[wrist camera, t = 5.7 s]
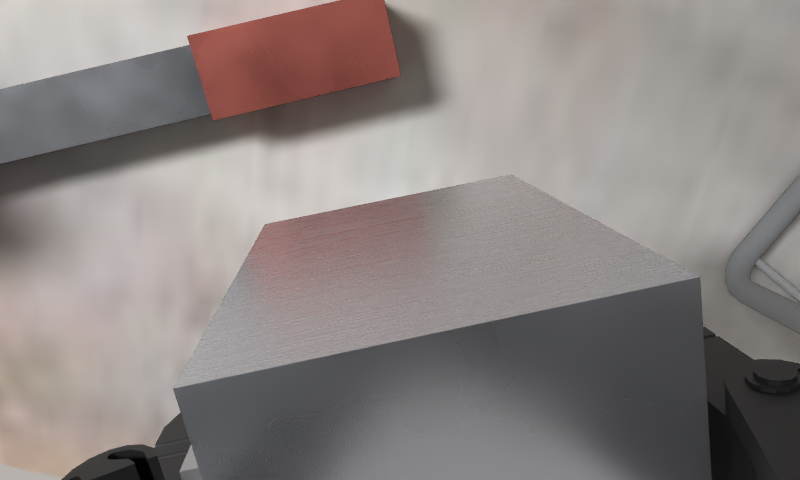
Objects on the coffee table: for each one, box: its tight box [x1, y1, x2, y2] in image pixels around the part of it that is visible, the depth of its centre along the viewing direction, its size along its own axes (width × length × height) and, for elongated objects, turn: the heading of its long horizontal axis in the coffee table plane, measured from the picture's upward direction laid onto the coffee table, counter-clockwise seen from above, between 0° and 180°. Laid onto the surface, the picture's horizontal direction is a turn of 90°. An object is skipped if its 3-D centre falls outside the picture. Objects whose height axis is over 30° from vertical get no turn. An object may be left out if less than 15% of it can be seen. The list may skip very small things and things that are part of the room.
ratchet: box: [0, 0, 401, 164], centre depth 23 cm, size 6×27×8 cm, turn 103°
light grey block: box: [173, 175, 712, 480], centre depth 11 cm, size 6×6×8 cm
